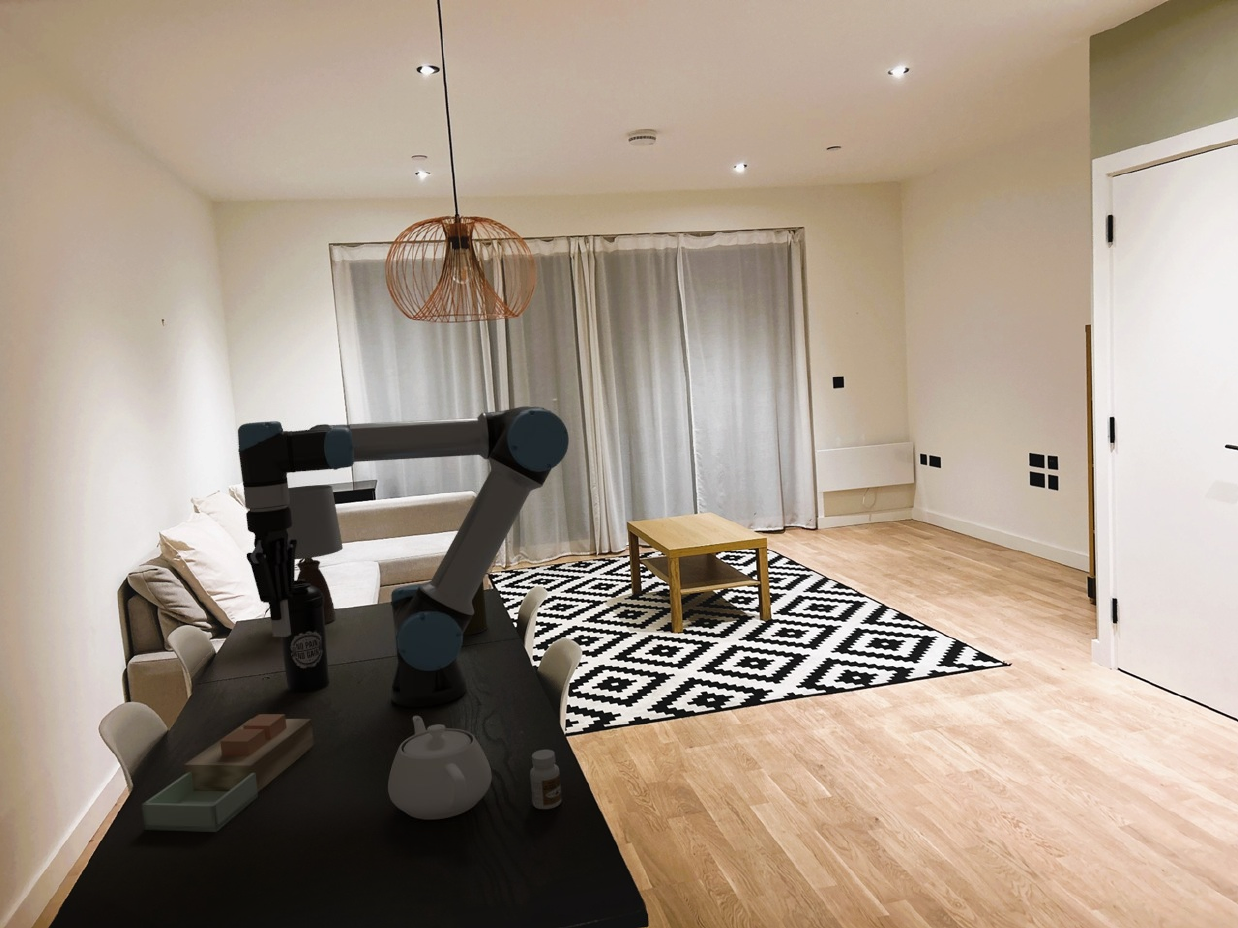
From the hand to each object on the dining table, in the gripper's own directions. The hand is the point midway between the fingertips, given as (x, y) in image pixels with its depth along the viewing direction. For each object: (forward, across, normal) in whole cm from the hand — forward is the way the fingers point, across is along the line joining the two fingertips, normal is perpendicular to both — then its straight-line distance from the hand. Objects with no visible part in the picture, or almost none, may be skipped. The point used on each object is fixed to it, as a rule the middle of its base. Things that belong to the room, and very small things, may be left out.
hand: (282, 635), depth 166 cm
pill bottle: (+20, +21, +54) cm, 62 cm away
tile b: (+15, +15, 0) cm, 21 cm away
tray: (+20, +27, 0) cm, 34 cm away
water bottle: (+20, -29, -13) cm, 37 cm away
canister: (+20, -69, +9) cm, 72 cm away
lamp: (+20, -79, -39) cm, 90 cm away
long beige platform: (+20, +11, -1) cm, 23 cm away
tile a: (+15, +8, 0) cm, 17 cm away
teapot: (+20, +21, +37) cm, 47 cm away
